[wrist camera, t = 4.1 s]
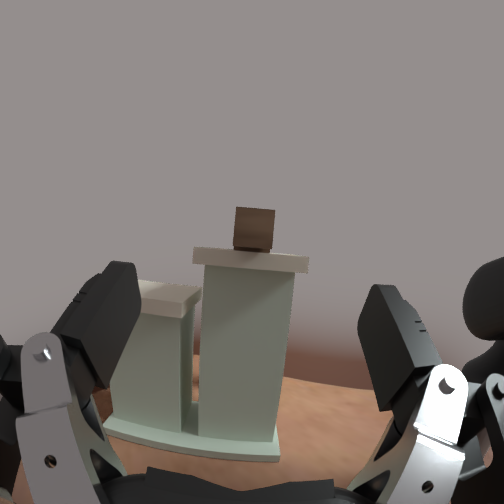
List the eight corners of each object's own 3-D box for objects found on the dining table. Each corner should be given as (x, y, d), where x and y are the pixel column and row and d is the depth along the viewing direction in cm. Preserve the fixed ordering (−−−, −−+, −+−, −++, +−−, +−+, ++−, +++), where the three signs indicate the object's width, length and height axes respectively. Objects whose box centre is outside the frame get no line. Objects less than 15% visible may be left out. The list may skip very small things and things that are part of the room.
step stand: (132, 395, 49) (132, 240, 49) (272, 414, 49) (291, 254, 49) (102, 433, 34) (90, 238, 34) (279, 461, 34) (309, 256, 34)
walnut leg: (237, 249, 46) (240, 223, 46) (264, 252, 47) (266, 225, 46) (226, 250, 24) (231, 200, 24) (277, 255, 25) (281, 205, 24)
